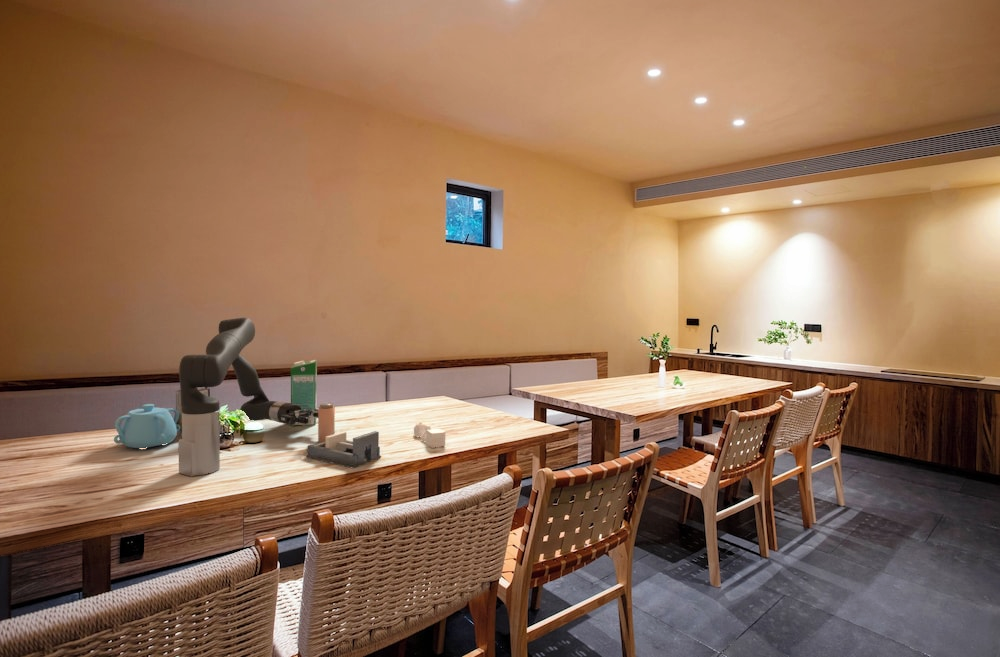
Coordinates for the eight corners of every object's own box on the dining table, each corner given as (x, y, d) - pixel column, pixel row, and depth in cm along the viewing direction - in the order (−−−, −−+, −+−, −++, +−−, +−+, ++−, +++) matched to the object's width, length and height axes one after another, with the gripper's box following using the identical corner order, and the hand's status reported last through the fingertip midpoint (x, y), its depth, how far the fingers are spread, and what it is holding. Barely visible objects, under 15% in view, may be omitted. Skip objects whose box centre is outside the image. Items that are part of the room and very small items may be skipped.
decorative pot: (187, 438, 175) (187, 399, 174) (162, 452, 159) (162, 409, 158) (136, 439, 173) (136, 399, 172) (106, 452, 157) (105, 409, 156)
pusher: (355, 462, 151) (355, 442, 151) (325, 455, 157) (325, 436, 157) (372, 456, 158) (372, 437, 157) (342, 449, 163) (342, 431, 163)
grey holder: (353, 468, 148) (354, 439, 148) (305, 457, 158) (306, 430, 157) (380, 457, 159) (381, 431, 159) (334, 447, 168) (334, 422, 168)
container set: (445, 447, 173) (445, 431, 172) (431, 449, 170) (431, 433, 170) (424, 433, 190) (424, 419, 190) (411, 434, 187) (411, 420, 187)
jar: (326, 444, 172) (326, 406, 171) (314, 441, 174) (314, 404, 174) (337, 440, 177) (338, 404, 176) (326, 438, 179) (326, 402, 178)
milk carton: (292, 420, 203) (293, 359, 202) (316, 419, 206) (316, 359, 205) (290, 426, 195) (290, 362, 193) (315, 424, 197) (315, 361, 196)
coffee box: (211, 431, 184) (211, 388, 183) (199, 436, 177) (198, 391, 176) (188, 430, 185) (187, 387, 184) (175, 435, 178) (174, 390, 177)
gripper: (268, 406, 178) (300, 411, 171) (300, 399, 191) (332, 404, 183) (268, 427, 178) (300, 433, 171) (300, 419, 191) (332, 424, 184)
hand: (317, 418), depth 177 cm, fingers open, 8 cm apart
